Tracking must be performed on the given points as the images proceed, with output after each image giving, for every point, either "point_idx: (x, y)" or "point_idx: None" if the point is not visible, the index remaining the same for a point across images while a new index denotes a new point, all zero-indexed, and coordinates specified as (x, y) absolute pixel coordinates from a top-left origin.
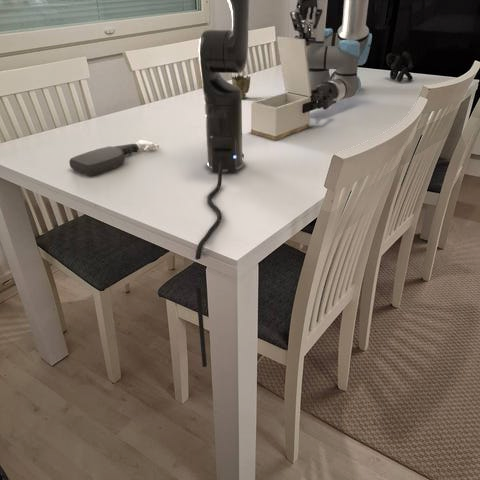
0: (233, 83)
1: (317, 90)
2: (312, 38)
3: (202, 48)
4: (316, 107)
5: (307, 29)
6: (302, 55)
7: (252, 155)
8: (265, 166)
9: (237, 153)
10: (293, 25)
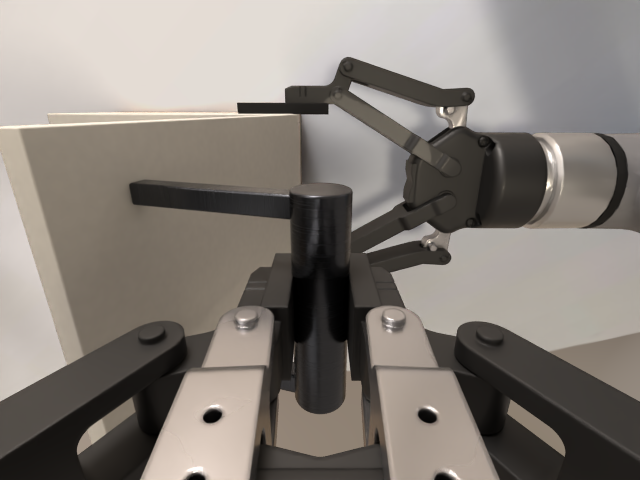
0: None
1: (450, 176)
2: (302, 402)
3: None
4: None
5: (365, 364)
6: None
7: (19, 243)
8: (10, 307)
9: None
10: (58, 374)
